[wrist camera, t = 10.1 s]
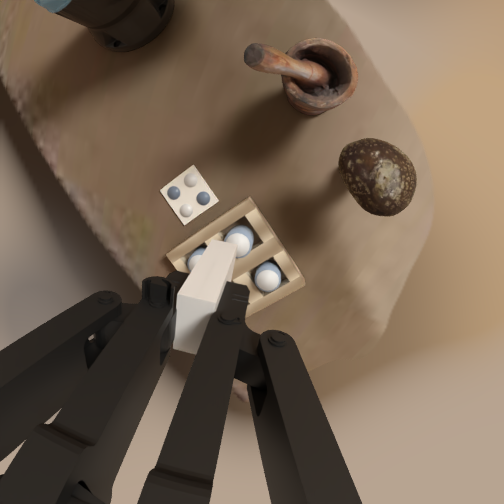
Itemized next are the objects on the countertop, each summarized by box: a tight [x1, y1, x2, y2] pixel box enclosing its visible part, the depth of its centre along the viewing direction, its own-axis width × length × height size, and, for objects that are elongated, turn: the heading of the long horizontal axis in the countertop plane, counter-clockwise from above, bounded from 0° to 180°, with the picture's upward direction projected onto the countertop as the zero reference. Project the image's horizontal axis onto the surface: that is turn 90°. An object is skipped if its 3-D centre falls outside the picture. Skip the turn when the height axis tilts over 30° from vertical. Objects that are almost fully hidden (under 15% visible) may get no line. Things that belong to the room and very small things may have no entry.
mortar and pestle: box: [244, 38, 358, 115], centre depth 31 cm, size 12×9×20 cm
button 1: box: [188, 246, 207, 272], centre depth 48 cm, size 4×4×4 cm
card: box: [160, 165, 219, 225], centre depth 47 cm, size 7×7×1 cm
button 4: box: [255, 260, 281, 292], centre depth 48 cm, size 4×4×4 cm
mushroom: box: [339, 138, 417, 216], centre depth 37 cm, size 9×9×15 cm
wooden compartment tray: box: [166, 196, 305, 318], centre depth 49 cm, size 16×16×3 cm
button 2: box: [224, 225, 254, 258], centre depth 44 cm, size 4×4×4 cm
